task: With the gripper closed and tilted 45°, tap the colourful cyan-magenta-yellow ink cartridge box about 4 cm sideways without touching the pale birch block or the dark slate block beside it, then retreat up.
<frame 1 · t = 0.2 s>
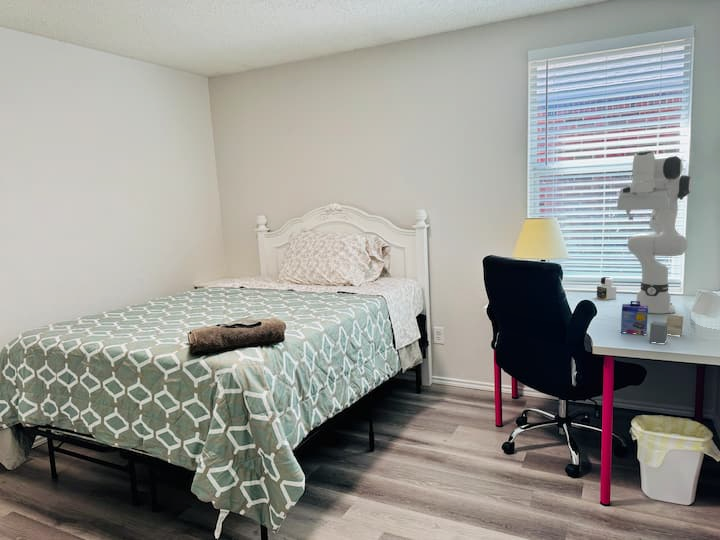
hand: (642, 219, 221), 48 cm above the table, tool pointing down, fingers open, 8 cm apart
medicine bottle: (606, 298, 283), on the table
birch block: (673, 334, 211), on the table
slate block: (658, 342, 202), on the table
ink cartridge box: (633, 333, 216), on the table
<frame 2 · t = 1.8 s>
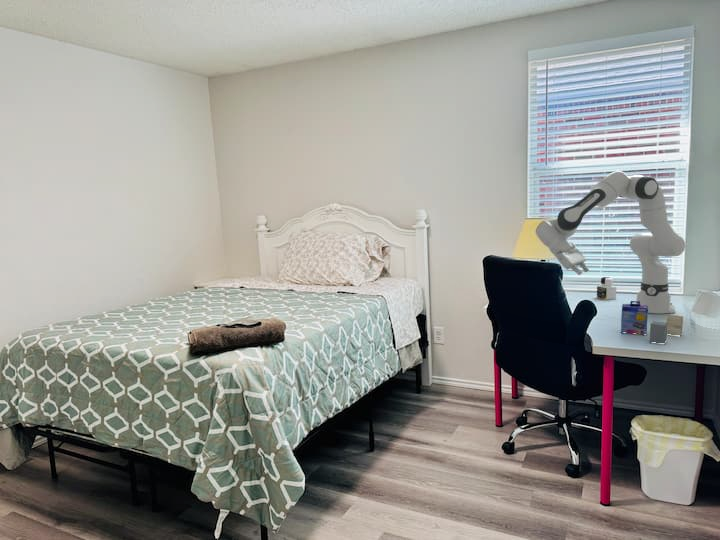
hand: (584, 272, 226), 25 cm above the table, tool tilted 45°, fingers open, 8 cm apart
nothing on the table moved.
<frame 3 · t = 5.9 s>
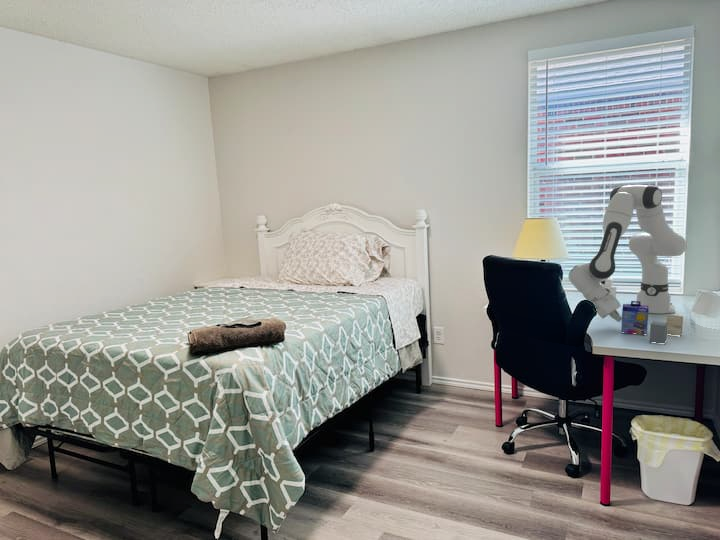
hand: (620, 320, 219), 5 cm above the table, tool tilted 45°, fingers closed
ink cartridge box: (634, 333, 216), on the table, touching gripper
everything else where it was.
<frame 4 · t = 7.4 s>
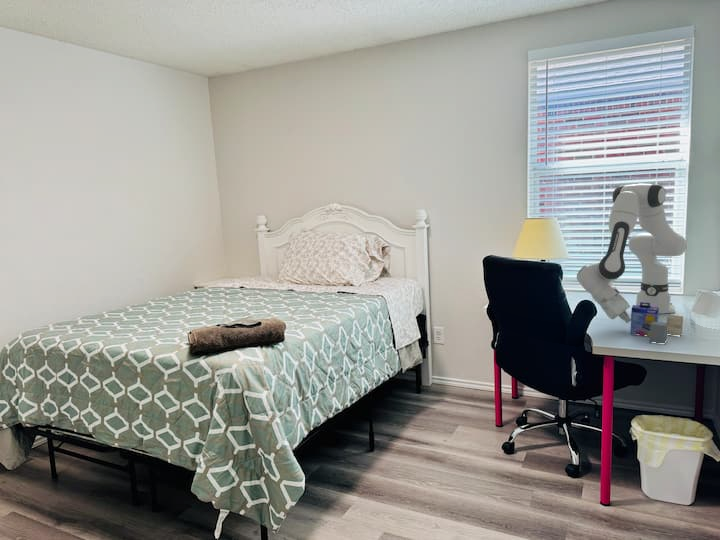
hand: (629, 321, 216), 5 cm above the table, tool tilted 45°, fingers closed
ink cartridge box: (643, 335, 213), on the table
everything else where it was.
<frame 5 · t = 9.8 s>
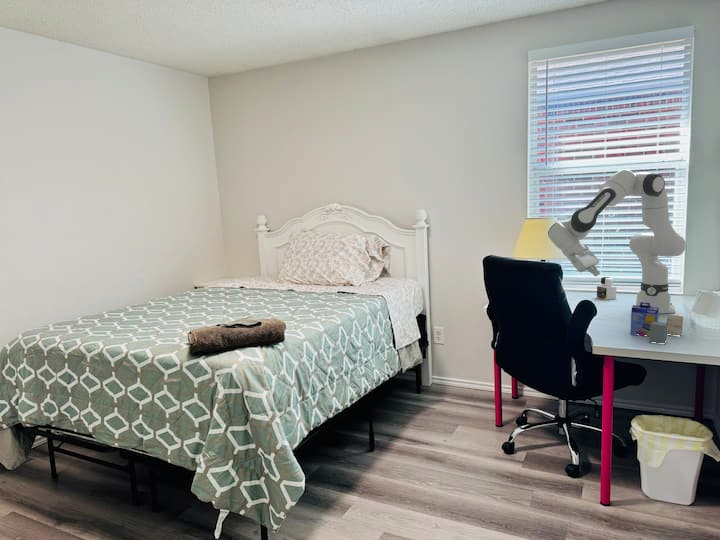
hand: (598, 275, 222), 24 cm above the table, tool tilted 45°, fingers closed
nothing on the table moved.
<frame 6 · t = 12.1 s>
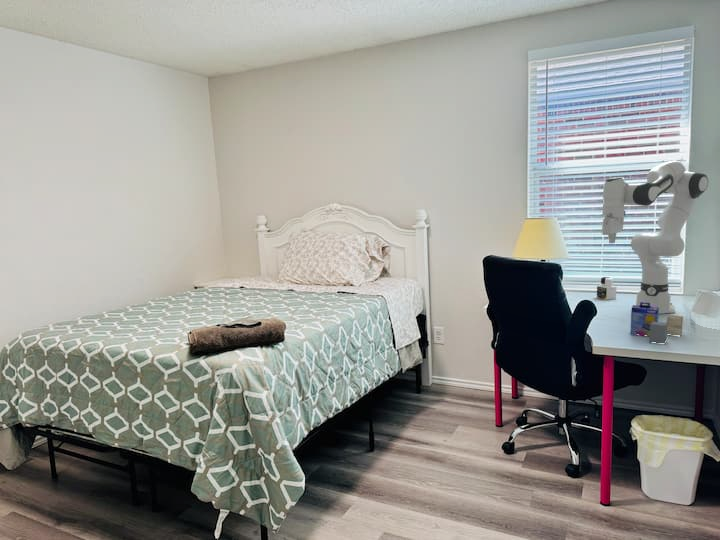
hand: (612, 243, 230), 37 cm above the table, tool pointing down, fingers closed
nothing on the table moved.
at the end: ink cartridge box 0.8 cm from the target spot, on the table; ink cartridge box tilted 0°; slate block moved 0.1 cm from its start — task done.
